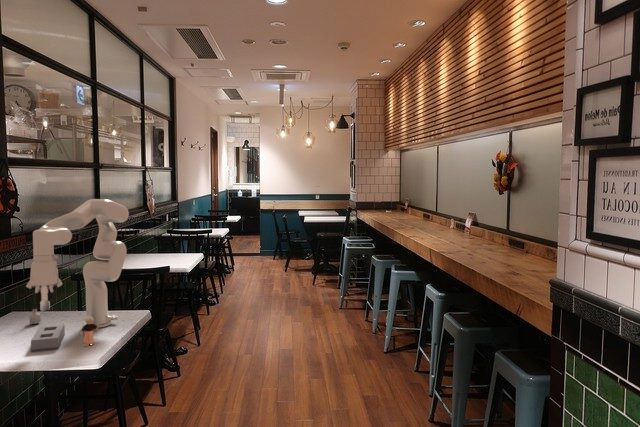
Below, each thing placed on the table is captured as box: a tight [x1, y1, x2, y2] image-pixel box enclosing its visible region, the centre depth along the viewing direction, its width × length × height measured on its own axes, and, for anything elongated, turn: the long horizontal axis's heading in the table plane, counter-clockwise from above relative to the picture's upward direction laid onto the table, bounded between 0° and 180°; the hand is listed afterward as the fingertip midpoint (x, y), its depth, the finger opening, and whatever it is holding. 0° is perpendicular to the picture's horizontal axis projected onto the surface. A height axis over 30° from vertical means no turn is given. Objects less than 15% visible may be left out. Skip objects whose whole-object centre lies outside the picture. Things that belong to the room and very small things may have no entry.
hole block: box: [30, 324, 66, 353], centre depth 215 cm, size 10×20×5 cm, turn 21°
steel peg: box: [39, 285, 51, 312], centre depth 209 cm, size 4×4×12 cm
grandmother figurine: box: [79, 316, 100, 347], centre depth 213 cm, size 8×4×13 cm, turn 148°
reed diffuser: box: [23, 287, 42, 325], centre depth 242 cm, size 10×7×20 cm
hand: (45, 300), depth 209 cm, fingers closed on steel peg, 3 cm apart
